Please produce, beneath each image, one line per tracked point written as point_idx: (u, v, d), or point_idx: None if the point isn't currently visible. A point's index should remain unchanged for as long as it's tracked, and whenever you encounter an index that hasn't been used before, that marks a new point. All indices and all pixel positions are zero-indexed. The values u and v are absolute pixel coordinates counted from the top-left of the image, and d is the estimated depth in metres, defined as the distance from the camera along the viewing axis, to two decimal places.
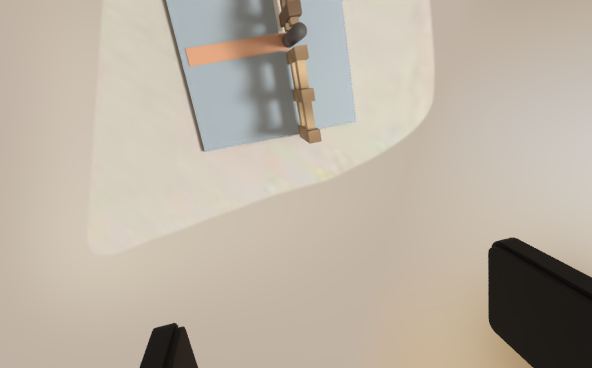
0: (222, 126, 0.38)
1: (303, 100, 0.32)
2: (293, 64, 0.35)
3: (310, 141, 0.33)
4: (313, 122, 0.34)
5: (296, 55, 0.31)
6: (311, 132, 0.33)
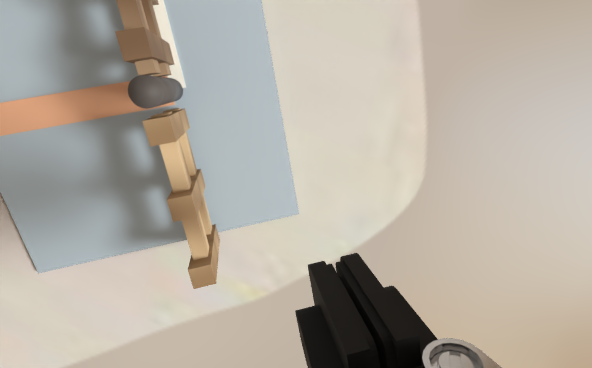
0: (64, 232, 0.22)
1: (173, 217, 0.17)
2: None
3: (194, 285, 0.18)
4: (202, 247, 0.18)
5: (149, 137, 0.16)
6: (195, 269, 0.18)
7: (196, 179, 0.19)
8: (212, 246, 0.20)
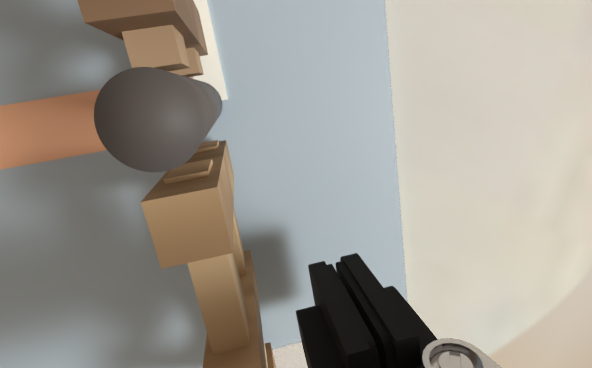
0: None
1: None
2: None
3: None
4: None
5: (159, 243, 0.06)
6: None
7: (252, 291, 0.09)
8: None
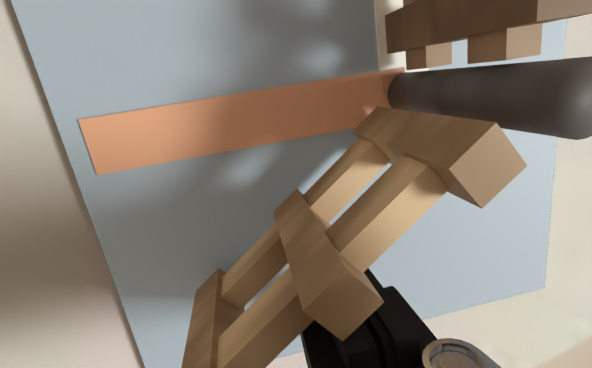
0: None
1: (312, 302, 0.07)
2: (373, 149, 0.10)
3: None
4: None
5: (465, 154, 0.06)
6: None
7: None
8: None
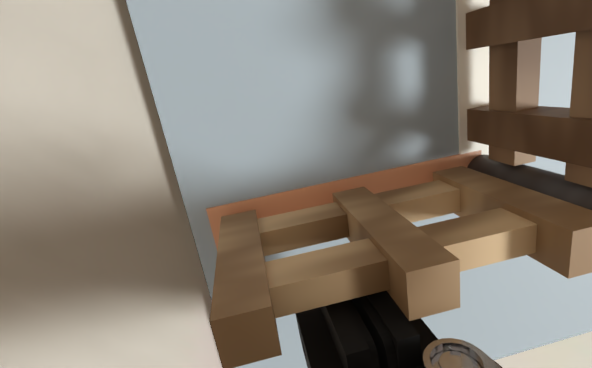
0: None
1: (414, 270, 0.07)
2: (455, 194, 0.11)
3: (220, 322, 0.06)
4: (302, 306, 0.08)
5: (587, 229, 0.07)
6: (269, 323, 0.07)
7: None
8: None
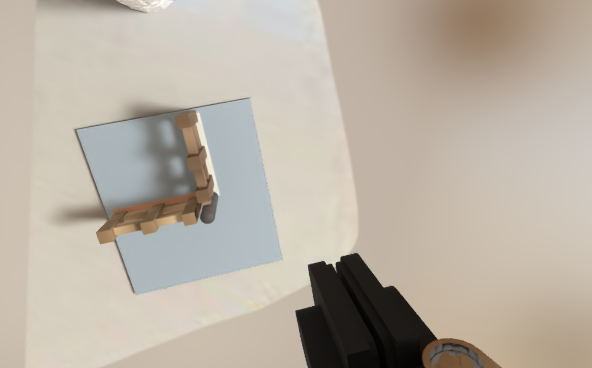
0: (151, 272, 0.40)
1: (142, 223, 0.32)
2: (186, 205, 0.36)
3: (98, 233, 0.32)
4: (122, 233, 0.33)
5: (186, 214, 0.33)
6: (109, 233, 0.32)
7: None
8: None
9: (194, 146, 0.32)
